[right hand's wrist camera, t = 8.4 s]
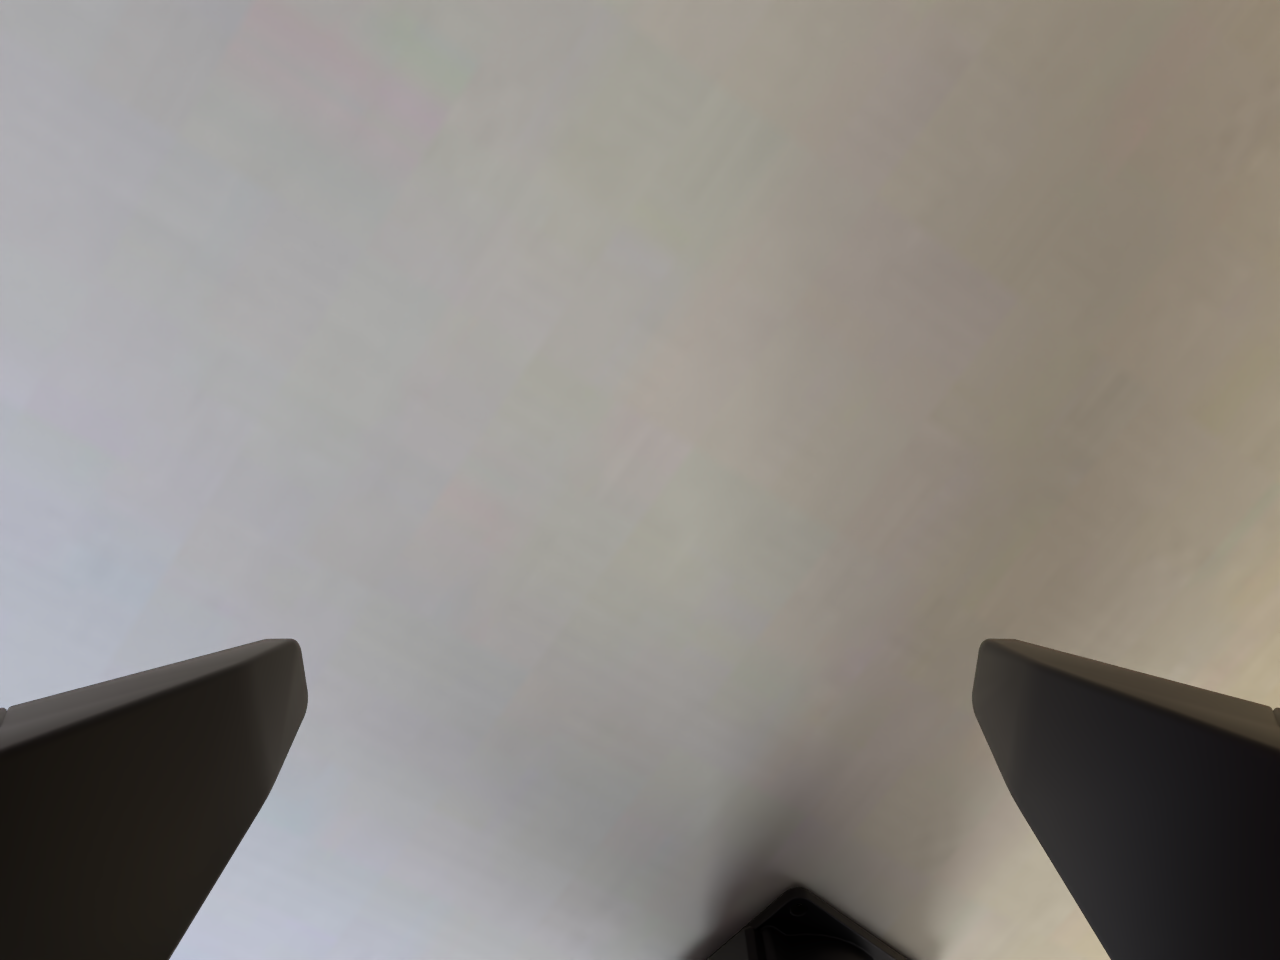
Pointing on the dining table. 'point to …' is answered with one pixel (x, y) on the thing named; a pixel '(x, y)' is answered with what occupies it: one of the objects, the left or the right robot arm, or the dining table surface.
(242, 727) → the right robot arm
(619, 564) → the dining table surface
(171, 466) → the dining table surface
